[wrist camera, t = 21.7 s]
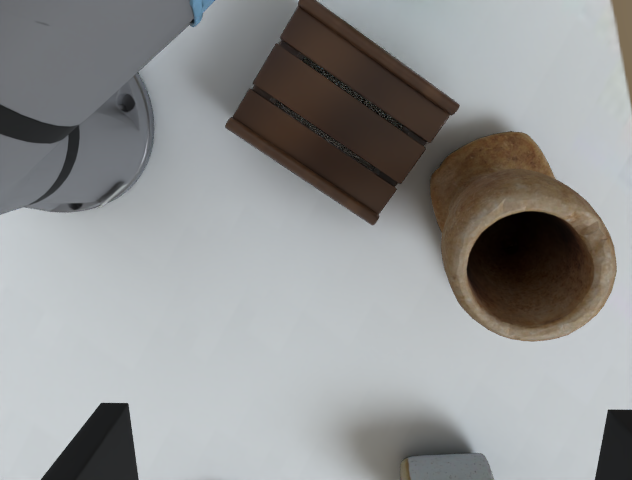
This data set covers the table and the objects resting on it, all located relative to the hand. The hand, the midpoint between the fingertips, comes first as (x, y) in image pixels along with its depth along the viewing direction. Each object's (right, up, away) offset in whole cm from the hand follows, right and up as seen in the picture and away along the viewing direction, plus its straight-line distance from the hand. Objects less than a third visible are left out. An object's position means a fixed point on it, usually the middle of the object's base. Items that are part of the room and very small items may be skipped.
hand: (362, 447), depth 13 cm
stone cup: (+14, +7, +28) cm, 32 cm away
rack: (+1, +16, +25) cm, 30 cm away
